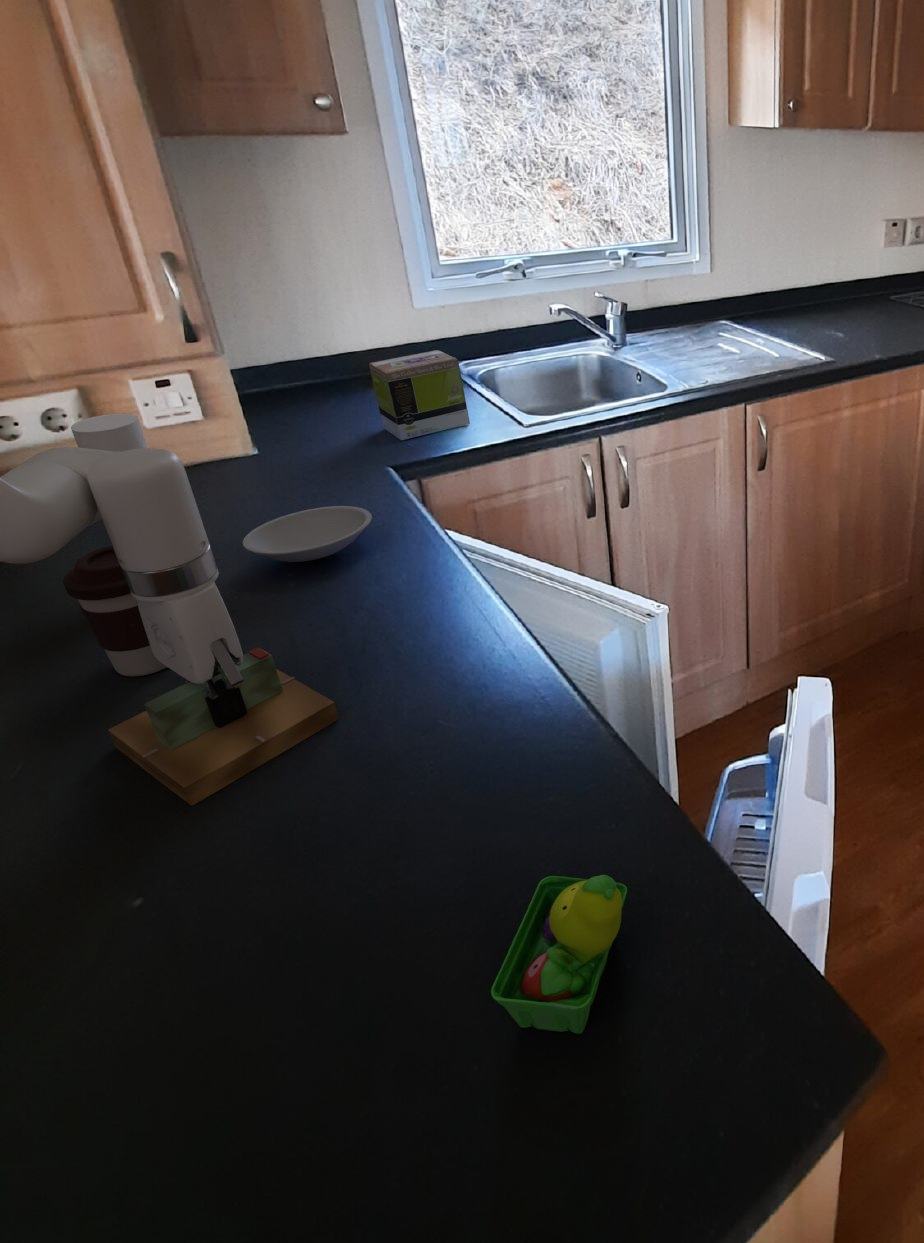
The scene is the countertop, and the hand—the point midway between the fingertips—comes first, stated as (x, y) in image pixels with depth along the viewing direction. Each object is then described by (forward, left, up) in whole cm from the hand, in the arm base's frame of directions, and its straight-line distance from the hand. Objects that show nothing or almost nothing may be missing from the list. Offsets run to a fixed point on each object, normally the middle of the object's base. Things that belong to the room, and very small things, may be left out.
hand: (222, 713), depth 95 cm
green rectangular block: (0, 0, 0) cm, 0 cm away
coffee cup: (+2, +22, -3) cm, 22 cm away
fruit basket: (-1, -54, -3) cm, 54 cm away
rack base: (0, 0, -3) cm, 3 cm away
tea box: (+75, +64, -3) cm, 99 cm away
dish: (+29, +30, -3) cm, 42 cm away
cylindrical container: (+12, +40, -3) cm, 42 cm away
